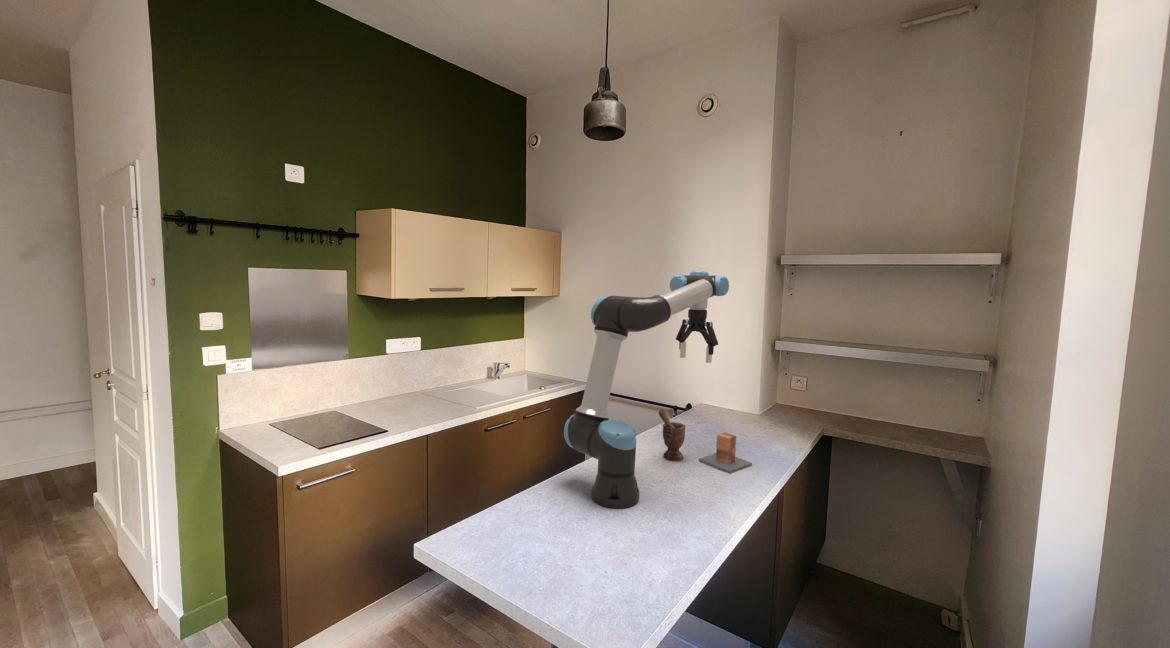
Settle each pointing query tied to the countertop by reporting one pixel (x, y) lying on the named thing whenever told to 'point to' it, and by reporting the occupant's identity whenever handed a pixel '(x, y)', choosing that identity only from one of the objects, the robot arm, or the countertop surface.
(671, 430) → the mortar and pestle
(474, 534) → the countertop surface
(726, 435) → the terracotta block
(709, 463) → the slate card
